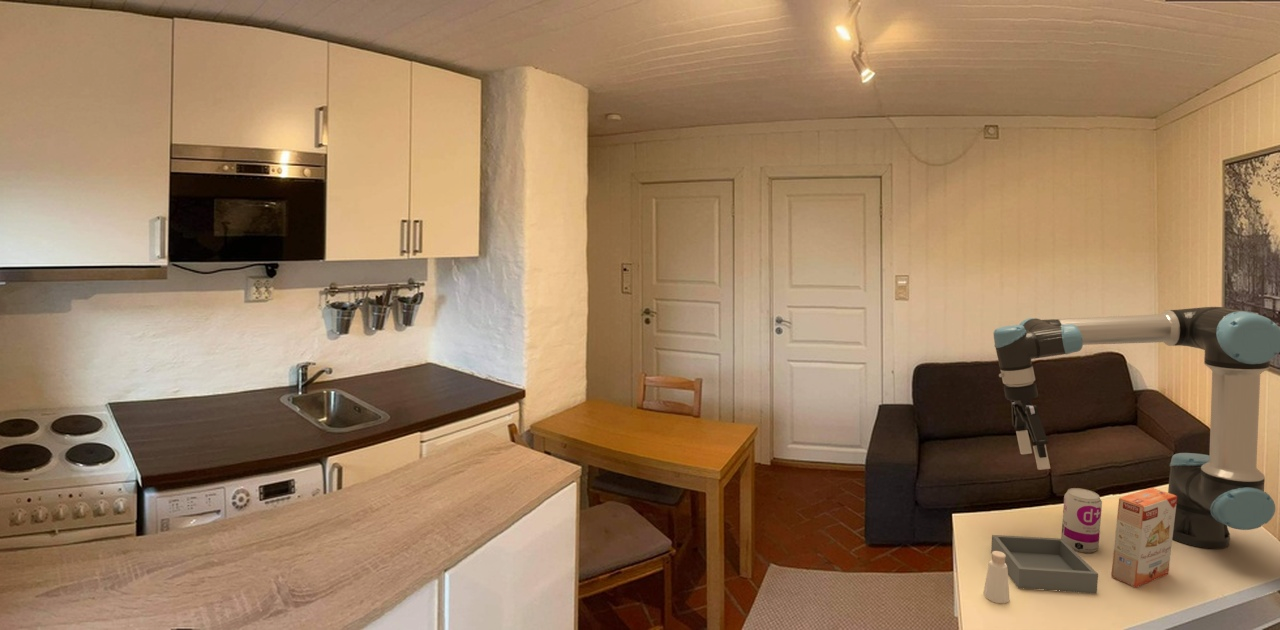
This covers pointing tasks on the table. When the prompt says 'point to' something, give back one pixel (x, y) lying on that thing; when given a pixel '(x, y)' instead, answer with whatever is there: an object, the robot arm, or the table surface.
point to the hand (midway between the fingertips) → (1034, 461)
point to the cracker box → (1143, 536)
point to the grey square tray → (1045, 564)
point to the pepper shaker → (997, 579)
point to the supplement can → (1081, 519)
